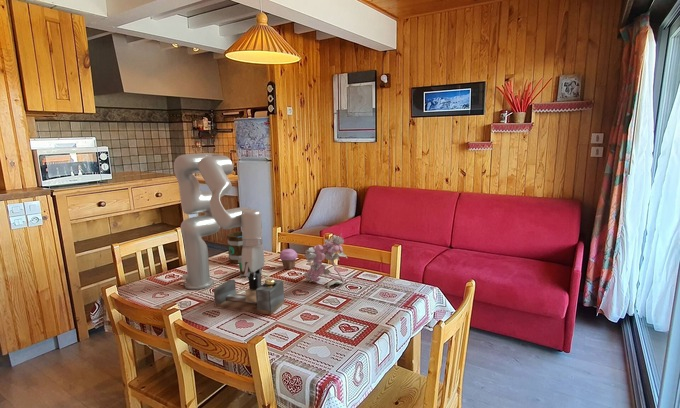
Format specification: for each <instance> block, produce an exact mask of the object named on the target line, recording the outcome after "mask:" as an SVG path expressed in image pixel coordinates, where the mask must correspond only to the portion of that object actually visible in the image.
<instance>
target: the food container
mask: <svg viewBox="0 0 680 408" xmlns="http://www.w3.org/2000/svg"><path fill="white" fill-rule="evenodd" d="M238 263H239V265H238V266H239V275H240V278H241V279H246V278H247V277H246V276H244V274H245V272H242V258H238ZM250 271H251V270H250Z"/></svg>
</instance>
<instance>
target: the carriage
mask: <svg viewBox="0 0 680 408" xmlns="http://www.w3.org/2000/svg"><path fill="white" fill-rule="evenodd" d="M261 273H262V272H261ZM261 273H255V276H256V278H255V279H257V288H259V287H260V286H261V285H262V274H261ZM250 274H252V275H253V273H250ZM244 292H245V294H244V295H246V301H250V302H257V300H256V289H251V288H249V287H248V288H247V290H245V291H244Z"/></svg>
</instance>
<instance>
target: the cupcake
mask: <svg viewBox="0 0 680 408" xmlns="http://www.w3.org/2000/svg"><path fill="white" fill-rule="evenodd" d="M297 258H298V253H297V252H296V250H294V249H293V248H286V249H282V250H281V251H280V254H279V259H280V260H281V263H282V265H283V268H284V269H287V270H291V269H293V268H295V267H296V259H297Z"/></svg>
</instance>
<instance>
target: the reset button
mask: <svg viewBox="0 0 680 408" xmlns="http://www.w3.org/2000/svg"><path fill="white" fill-rule="evenodd" d="M274 280H275V279H274V278H267V279H265V280H264V283H265V285H266V286H267V287H273V285H274V284H275V282H274Z"/></svg>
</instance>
